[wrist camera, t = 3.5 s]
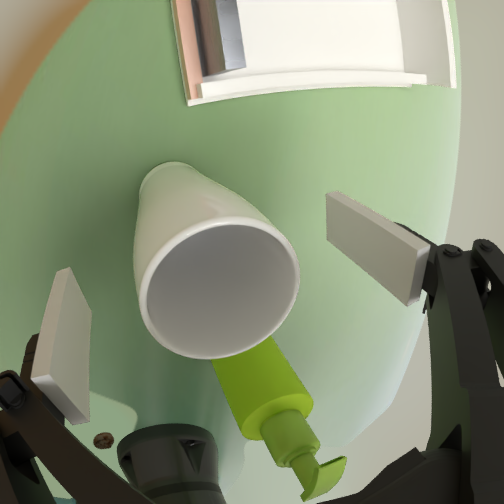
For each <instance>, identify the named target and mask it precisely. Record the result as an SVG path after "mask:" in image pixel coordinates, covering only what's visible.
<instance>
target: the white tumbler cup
mask: <svg viewBox="0 0 504 504" xmlns="http://www.w3.org/2000/svg"><path fill="white" fill-rule="evenodd" d="M133 271H134V280H135V286H136V292H137V298H138V302H139V307H140V313H141V316H142V319H143V321H144V324H145V326H146V328H147V329H148V331H149V332H150V334H151V335H152V336H153V337H154V338H155V339H156V340H157V341H158V342H159V343H160V344H161V345H162V346H164V347H165V348H167V349H168V350H170V351H172V352H174V353H176V354H179V355H182V356H185V357H189V358H194V359H219V358H225V357H229V356H233V355H236V354H239V353H242V352H244V351H246V350H249V349H250V348H252V347H254V346H256V345H258V344H259V343H261V342H262V341H264V340H265V339H266V338H268V337H269V336H270V335H271V334H272V333H273V332H274V331H275V330H276V329H277V328H278V327H279V326H280V325H281V324H282V323H283V321H284V320H285V319H286V317H287V316H288V314H289V313H290V311H291V309H292V307H293V305H294V303H295V300H296V297H297V294H298V290H299V285H300V267H299V262H298V258H297V255H296V253H295V251H294V249H293V247H292V245H291V243H290V242H289V241H288V240H287V238H286V237H285V236H284V235H283V234H282V233H281V232H280V231H279V230H278V229H277V228H276V227H275V226H274V225H273V224H272V223H271V222H270V221H269V220H268V219H267V218H266V217H265V216H264V215H263V214H262V213H261V212H260V211H259V210H258V209H257V208H256V207H254V206H253V205H252V204H251V203H249V202H248V201H247V200H245V199H244V198H243V197H241V196H240V195H238V194H237V193H235V192H233V191H232V190H230V189H228V188H227V187H225V186H223V185H221V184H219V183H217V182H216V181H214V180H212V179H210V178H208V177H207V176H205V175H203V174H201V173H199V172H198V171H197V170H196V169H195V168H193V167H192V166H190V165H188V164H186V163H182V162H174V161H173V162H166V163H163V164H160V165H158V166H156V167H155V168H153V169H152V170H151V171H150V172H149V173H148V174H147V175H146V176H145V178H144V179H143V181H142V183H141V186H140V190H139V207H138V214H137V221H136V227H135V234H134V244H133Z"/></svg>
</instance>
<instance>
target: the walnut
mask: <svg viewBox="0 0 504 504" xmlns="http://www.w3.org/2000/svg"><path fill="white" fill-rule="evenodd" d="M113 443H114V437H113V436H112V434H111V433H108V432H103V433H100V434H97V435H96V436H95V437H94V439H93V444H94V446H95V447H96V448H98V449H109V448H111V446H112V445H113Z"/></svg>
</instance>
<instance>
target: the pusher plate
mask: <svg viewBox="0 0 504 504" xmlns="http://www.w3.org/2000/svg"><path fill="white" fill-rule="evenodd" d="M191 5H192V12H193V19H194V25H195V32H196V38H197V45H198V51H199V58H200V64H201V70H202V77H208V76H214V75H220V74H223V73H227V72H230V71H234V70H238V69H242V68H246V60H245V53H244V46H243V40H242V33H241V26H240V20H239V13H238V7H237V0H191Z"/></svg>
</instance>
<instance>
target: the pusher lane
mask: <svg viewBox="0 0 504 504" xmlns="http://www.w3.org/2000/svg"><path fill="white" fill-rule="evenodd" d="M170 2H171V9H172V16H173V23H174V30H175V37H176V43H177V50H178V56H179V62H180V68H181V74H182V80H183V86H184V92H185V98H186V104H187V106H192V105H197V104H202V103H208V102H213V101H219V100H224V99H230V98H237V97H243V96H250V95H257V94H265V93H273V92H282V91H292V90H304V89H317V88H334V87H371V86H381V87H412V84H427V85H435V86H443V87H450V88H456V70H455V56H454V46H453V37H452V29H451V22H450V15H449V9H448V3H447V0H237V7H238V13H239V20H240V26H241V33H242V40H243V46H244V53H245V60H246V68H242V69H238V70H234V71H230V72H227V73H223V74H220V75H214V76H208V77H202V70H201V64H200V58H199V51H198V45H197V38H196V32H195V25H194V19H193V12H192V5H191V0H170Z"/></svg>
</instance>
